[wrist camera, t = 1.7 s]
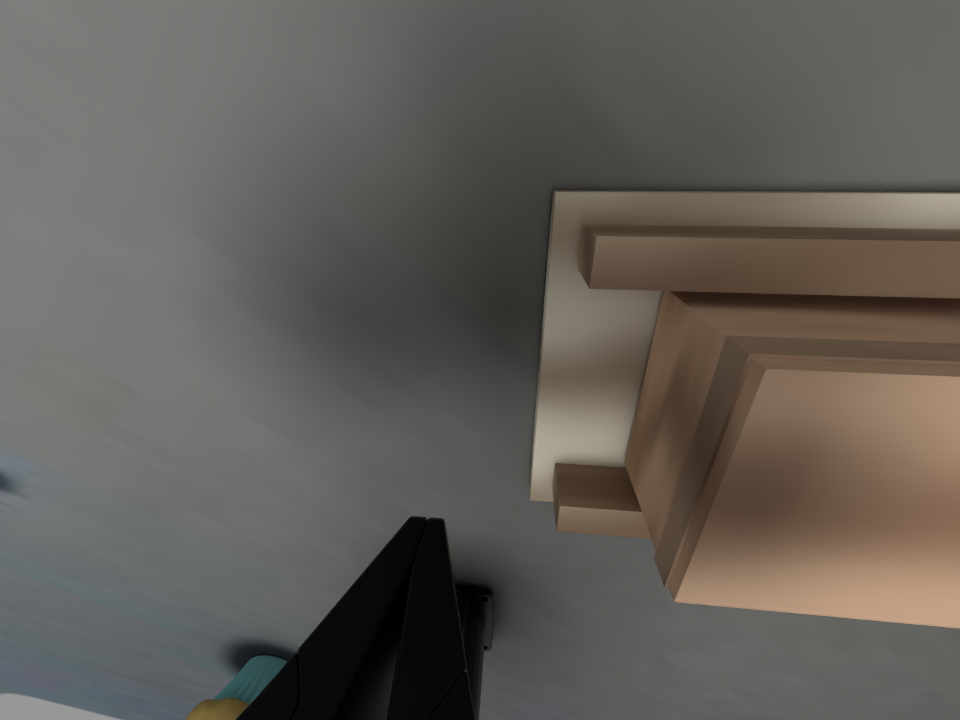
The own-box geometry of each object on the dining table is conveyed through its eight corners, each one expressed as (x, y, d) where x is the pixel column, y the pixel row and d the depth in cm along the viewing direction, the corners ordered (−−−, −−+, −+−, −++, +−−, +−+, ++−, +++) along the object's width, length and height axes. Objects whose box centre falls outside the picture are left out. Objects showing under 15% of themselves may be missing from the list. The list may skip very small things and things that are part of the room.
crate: (869, 480, 16) (1047, 638, 10) (621, 465, 17) (669, 603, 11) (988, 292, 12) (1357, 388, 7) (662, 284, 13) (762, 363, 8)
